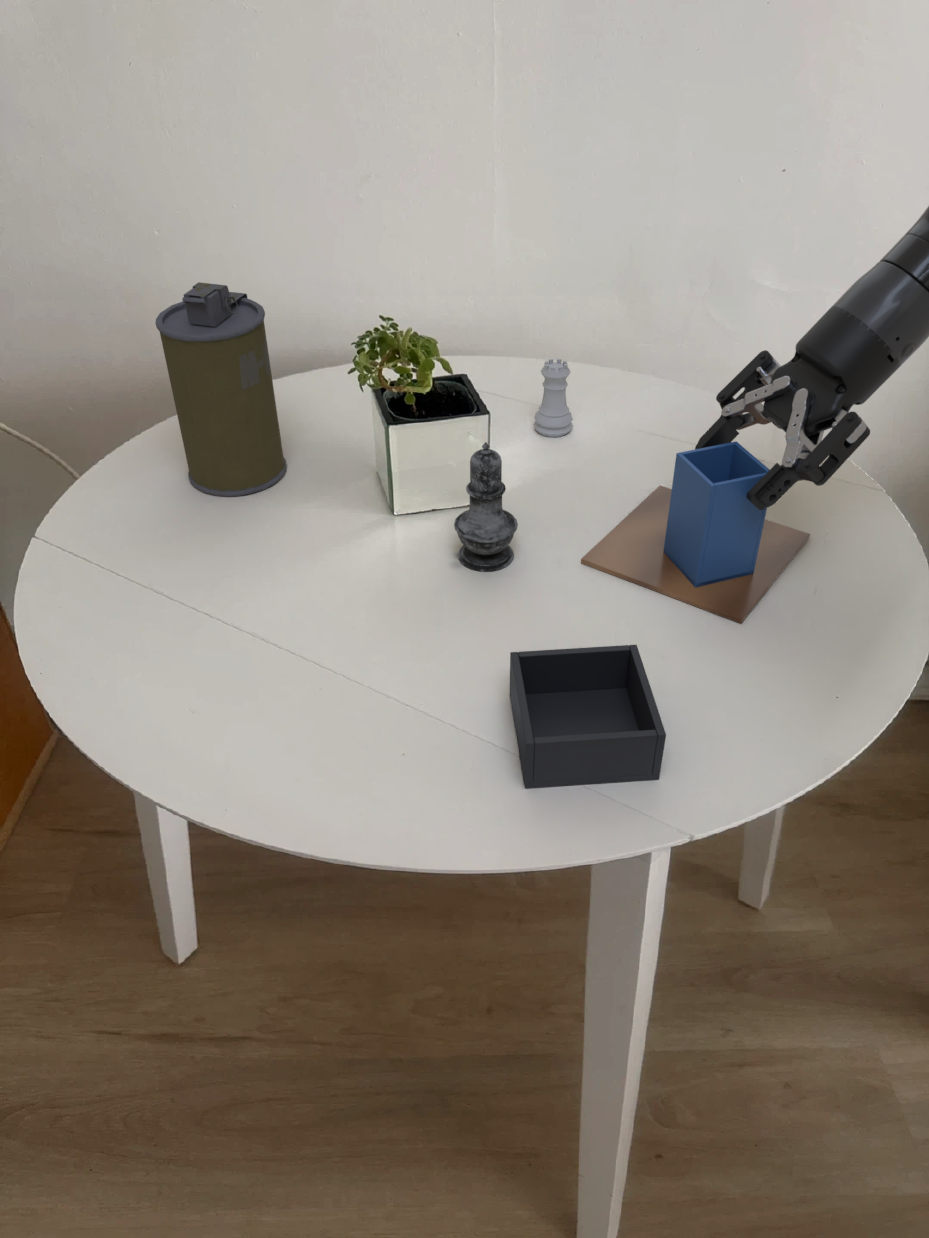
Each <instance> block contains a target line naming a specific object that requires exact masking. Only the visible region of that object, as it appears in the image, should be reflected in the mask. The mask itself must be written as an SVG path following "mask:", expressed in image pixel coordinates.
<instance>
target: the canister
mask: <svg viewBox="0 0 929 1238" xmlns="http://www.w3.org/2000/svg"><path fill="white" fill-rule="evenodd" d="M265 317H266V312H265V309H264V306H262V305H261V304H260V303H258V302H257V301H255V300H253V299H250V298H248V293H244V292H235V291H229V287H228V285H225V284H217V283H207V282H197V283H196V284H194V285H193V286H192V288H190V290H188V291H186V292H185V293H183V297H182V301H180V302H177V303H173V304H171V305H170V306H168V307H167V308H165V309H164V310H162V311H161V312H159V314H158V315H157V316H156V318H155V327H156V329H157V330H158V332H159V335H160V340H161V345H162V349H163V354H164V360H165V364H166V368H167V373H168V377H169V383H170V387H171V393H172V398H173V402H174V406H175V411H176V417H177V421H178V425H179V429H180V435H181V439H182V443H183V448H184V453H185V459H186V462H187V463H186V464H187V468H188V472H187V474H188V475H187V476H188V480H189V483H190V485H192V486H193V487H194V488H195V489H196V490H198V491H200V492H201V493H204V494H207V495H211V496H213V497H214V496H217V497H240V496H246V495H250V494H254V493H259V492H262V491H264V490H266V489H268V488H270V487H271V486H273V485H275V484H276V483H278V481H280V480H281V479H282V478H283V477H284V476H285V474H286V472H287V467H288V466H287V465H288V464H287V460H286V458H285V457H284V451H283V444H282V437H281V431H280V424H279V423H280V422H279V416H278V410H277V403H276V395H275V389H274V381H273V376H272V375H273V374H272V368H271V362H270V361H271V360H270V353H269V346H268V339H267V333H266V332H267V331H266V327H265V325H266V324H265Z"/></svg>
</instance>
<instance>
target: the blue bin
mask: <svg viewBox="0 0 929 1238" xmlns="http://www.w3.org/2000/svg"><path fill="white" fill-rule="evenodd" d="M675 454H676V455H675V461H674V462H675V463H674V470H673V478H672V483H671V489H672V491H671V499H670V506H669V514H668V521H667V529H666V536H665V544H664V551H663V552H664V553H665V554H666V555H667V556H668V558H669V559H670V560H671V561H672V562H673V563H674V564H675V565H676V567H677V568H678V569H679V570H680V571H681V572H682V573H683V574H684V575H685V577H686V578H687V579H688V580H689V581H690V582H691V583H692V584H693V586H694V587H700V586H704V585H708V584H713V583H717V582H721V581H725V580H730V579H734V578H738V577H742V576H747V575H751V574H754V569H755V564H756V559H757V554H758V550H759V545H760V540H761V535H762V530H763V525H764V520H766V515H767V510H768V507H766V508H765V509H764V510H759V509H758V508H757V507H756V506H754V505H753V504H752V503H751V502H750V501H749V500H748V499H747V498H746V495H747V493H748V492H749V491H750V489H751V488H752V487H753V486H754V485H755V484H756V483H757V482H758V481H759V480H760V479H761V478H762V477H763V476H764V475H765V474H766V473H767V472H768V471H769V470H770V469H771V468H768V467H767V466H766V465H765V464H764V463H763V462H761V461H760V459H758V458H757V457H755V455H753V454H752V453H751V452H750V451H748V449H746V448H745V447H744V446H743V445H741V444H740V443H739V442H738V441H732V442H731V443H726V444H720V445H715V446H710V447H705V448H700V449H695V448H694V449H691V450H685V451H680V452H676V453H675Z"/></svg>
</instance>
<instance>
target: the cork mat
mask: <svg viewBox="0 0 929 1238" xmlns="http://www.w3.org/2000/svg"><path fill="white" fill-rule="evenodd" d="M671 491H672V488H669V487H667V486H663V485H659V486H658V487H656V488H655V489H654V490H653V491H652V492H651V493H650V494H649V495H648V496H647V497H646V498H644V499H643V500H642V501H641V502H640V503H639V504H638V505H637V506H636V507H635V508H634V509H632V510H631V512H629V513H628V514H627V515H626V516H625V517H624V518H623V519H622V520H621V521H620V522H618V524H617V525H616V526H614V527H613V529H611V530H610V531H609V532H608V533H607V534H606V535H605V536H604V537H603V538H602V539H600V541H598V542H597V543H596V544H595V545H593V547H592V548H591V549H589V551H588V552H587V553H585V555H584V556H582V557H581V558H580V563H581V564H583V565H585V566H587V567H590V568H592V569H595V570H597V571H600V572H604V573H606V574H609V575H612V576H614V577H617V578H619V579H622V580H625V581H627V582H629V583H633V584H635V585H637V586H640V587H643V588H645V589H648V590H651V591H654V592H656V593H659V594H661V595H664V596H667V597H670V598H672V599H674V600H677V601H680V602H683V603H685V604H688V605H691V606H694V607H696V608H698V609H701V610H704V611H707V612H709V613H712V614H714V615H717V616H719V617H722V618H725V619H727V620H730V621H732V622H736V623H738V624H740V625H742V624H743V623H744V621H745V620H746V619H747V618H748V616H749V615H750V614H751V613H752V612H753V610H754V609H755V608H756V606H758V604H759V602H761V600H762V598H764V597H765V595H766V594H767V592H768V591H769V590H770V588H771V587H772V586H773V585H774V584H775V582H776V581H777V580H778V579H779V577H780V576H781V575H782V573H784V571H785V570H786V568H787V567H788V566H789V565H790V563H791V562H792V561H793V560H794V558H795V557H796V556H797V555H798V554H799V552H800V551H801V550H802V548H803V547H804V546H805V544H806V542H808V540H809V539H810V537H811V533H808V532H805V531H802V530H799V529H796V528H794V527H790V526H787V525H784V524H781V523H778V522H775V521H771V520H768V519H765V520H764V525H763V530H762V535H761V540H760V545H759V550H758V554H757V559H756V564H755V569H754V574H751V575H747V576H742V577H738V578H734V579H730V580H725V581H721V582H717V583H713V584H708V585H704V586H700V587H694V586H693V584H692V583H691V582H690V581H689V580H688V579H687V578H686V577H685V575H684V574H683V573H682V572H681V571H680V570H679V569H678V568H677V567H676V565H675V564H674V563H673V562H672V561H671V560H670V559H669V558H668V556H667V555H666V554H665V553H664V552H663V551H664V544H665V536H666V529H667V521H668V514H669V506H670V499H671Z"/></svg>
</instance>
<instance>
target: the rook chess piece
mask: <svg viewBox="0 0 929 1238" xmlns="http://www.w3.org/2000/svg"><path fill="white" fill-rule="evenodd" d="M568 366H569V365H568V361H567V360H562V358H556V361H555V362H554V358H549V359H548V360H545V361H544V366H542V368H541V369H540V374H541V375H542V376H543V378H544V380H543V382H542V384H541V385H542V386H543V395H542V399H541V404H540V406H539V407H538V410H537V411H536V412H535V415H534V423H533V428H534V429H535V431H536V432H537V433H538V434H540V435H541V436H544V437H548V438H559V437H563V436H566V435H567V434H569V433H570V431H571V430H573V427H574V426H573V423H572V421H573V415H572V412H571V411H570V408H569V406H568V405H567V396H566V395H567V392H566V391H567V387H568V386H569V384H568V382H567V378H568V377H569V376H570V374H571V369H570V368H569V367H568Z"/></svg>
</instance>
